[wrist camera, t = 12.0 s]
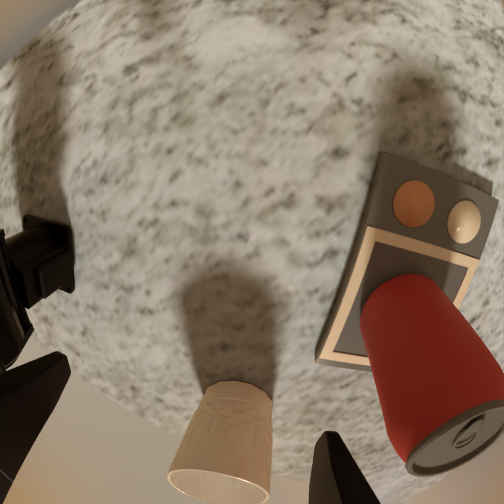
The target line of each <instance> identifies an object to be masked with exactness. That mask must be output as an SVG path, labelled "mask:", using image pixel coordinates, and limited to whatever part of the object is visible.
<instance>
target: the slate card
mask: <svg viewBox="0 0 504 504" xmlns="http://www.w3.org/2000/svg"><path fill="white" fill-rule="evenodd" d="M498 202H499V200H498V199H496V198H494V197H492V196H490V195H488V194H486V193H484V192H482V191H480V190H477V189H475V188H473V187H471V186H469V185H467V184H465V183H462V182H460V181H458V180H456V179H453V178H451V177H449V176H446V175H444V174H442V173H439V172H437V171H434V170H432V169H429V168H427V167H424V166H422V165H419V164H416V163H414V162H411V161H408V160H406V159H403V158H400V157H397V156H394V155H391V154H388V153H386V152H380V155H379V160H378V164H377V168H376V172H375V176H374V180H373V184H372V188H371V192H370V195H369V199H368V203H367V206H366V210H365V213H364V217H363V220H362V224H361V227H360V230H359V234H358V237H357V240H356V243H355V247H354V250H353V253H352V256H351V259H350V262H349V265H348V268H347V271H346V274H345V277H344V280H343V283H342V285H341V288H340V291H339V294H338V297H337V299H336V302H335V305H334V307H333V310H332V313H331V315H330V318H329V321H328V323H327V326H326V328H325V331H324V333H323V336H322V338H321V341H320V343H319V346H318V348H317V350H316V353H315V363H316V364H322V365H328V366H334V367H341V368H348V369H355V370H363V371H371V372H372V369H371V365H370V362H369V358H368V355H367V351H366V348H365V344H364V341H363V337H362V334H361V330H360V317H361V314H362V311H363V307H364V305H365V303H366V302H367V300H368V299H369V297H370V295H371V294H372V293H373V292H374V291H375V290H376V289H377V288H378V287H379V286H380V285H382V284H383V283H384V282H386V281H388V280H390V279H392V278H394V277H396V276H400V275H405V274H409V273H410V274H419V275H424V276H426V277H428V278H430V279H431V280H433V281H434V282H435V283H436V284H437V285H438V286H439V287H440V289H441V290H442V291H443V292H444V293H445V294H446V296H447V297H448V298H449V299H450V300H451V302H452V303H453V304H454V305H455V307H456V308H457V309H458V308H459V306H460V304H461V302H462V300H463V298H464V295H465V293H466V291H467V289H468V287H469V284H470V282H471V280H472V277H473V275H474V273H475V270H476V268H477V265H478V263H479V260H480V257H481V255H482V252H483V249H484V247H485V244H486V241H487V238H488V235H489V232H490V229H491V226H492V223H493V219H494V216H495V213H496V209H497V206H498Z"/></svg>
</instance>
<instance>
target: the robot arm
mask: <svg viewBox="0 0 504 504" xmlns="http://www.w3.org/2000/svg"><path fill="white" fill-rule="evenodd" d="M65 231H66V232H65ZM4 236H5V233H4V229H0V504H3V502H4V500H5V498H6V495H7V493H8V491H9V489H10V487H11V485H12V483H13V481H14V479H15V477H16V475H17V473H18V471H19V469H20V467H21V466H22V464H23V462H24V460H25V458H26V456H27V454H28V452H29V451H30V449H31V447H32V445H33V444H34V442H35V440H36V438H37V437H38V435H39V433H40V432H41V430H42V428H43V426H44V425H45V423H46V421H47V420H48V418H49V416H50V415H51V413H52V412H53V410H54V408H55V406H56V404H57V402H58V400H59V398H60V396H61V394H62V392H63V390H64V388H65V385H66V383H67V381H68V379H69V377H70V375H71V369H70V366H69V362H68V359H67V356H66V355H65V354H63V353H61V352H58V351H55V352H53V353H50V354H48V355H45V356H43V357H40V358H38V359H36V360H33V361H30V362H28V363H25V364H23V365H20V366H18V367H15V368H13V369H10V370H8V371H6V369H7V368H9V367H10V366H11V365H12V364H13V363H14V362H15V361H16V360H17V358H18V356H19V355H20V353H21V351H22V349H23V348H24V346H25V344H26V342H27V341H28V339H29V338H30V336H31V334H32V333H33V331H34V328H33V325H32V323H30V320H29V317H28V315H27V312H26V309H25V308H27V309H30V308H31V307H32V306H34V305H35V304H36V303H37V302H39V301H40V300H41V299H43V298H44V299H46V298H47V297H48V296H50V295H51V294H52V293H53V292H55V291H56V290H57V289H60V290H62V291H65V292H67V293H72V292H73V291H74V290H75V287H74V277H73V265H72V250H71V230H70V227H69V226H68V225H65V224H62V223H58V222H54V221H50V220H47V219H43V218H39V217H36V216H32V215H25V216H23V231H22V232H20V233H18V234H16V235H13V236H11V237H9V238H7V239H5V238H4ZM69 287H70V288H69ZM309 504H381V503H380V502H379V500H378V498H377V497H376V495H375V494H374V492H373V490H372V489H371V487H370V485H369V484H368V482H367V480H366V479H365V477H364V475H363V474H362V472H361V470H360V469H359V467H358V465H357V464H356V462H355V460H354V459H353V457H352V455H351V454H350V452H349V450H348V449H347V447H346V445H345V444H344V442H343V440H342V439H341V437H340V435H339V434H338V433H337V432H335V431H325V432H324V433H323V434H322V435H321V437H320V438H319V440H318V441H317V443H316V445H315V449H314V456H313V464H312V471H311V477H310V485H309Z"/></svg>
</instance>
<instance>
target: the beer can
mask: <svg viewBox="0 0 504 504" xmlns="http://www.w3.org/2000/svg"><path fill="white" fill-rule="evenodd" d="M360 330H361V334H362V337H363V341H364V344H365V348H366V351H367V355H368V358H369V362H370V365H371V369H372V373H373V376H374V380H375V384H376V388H377V392H378V396H379V400H380V404H381V408H382V412H383V416H384V421H385V425H386V430H387V434H388V437H389V439H390V441H391V443H392V445H393V447H394V449H395V451H396V452H397V454H398V455H399V456H400V458H401V459H402V460H403V461H404V462H405V463H406V465H405V467H406V469H407V471H408V473H409V474H412V475H414V476H418V477H427V476H433V475H438V474H442V473H445V472H447V471H450V470H453V469H455V468H457V467H459V466H461V465H463V464H465V463H467V462H469V461H471V460H472V459H474V458H475V457H477V456H478V455H480V454H481V453H482V452H484V451H485V450H486V449H487V448H489V447H490V446H491V445H492V444H493V443H494V442H495V441H496V440H497V439H498V438H499V437H500V436H501V435H502V434H503V432H504V373H503V371H502V369H501V367H500V365H499V364H498V362H497V361H496V360H495V358H494V357H493V355H492V354H491V352H490V351H489V350H488V348H487V347H486V345H485V344H484V343H483V341H482V340H481V339H480V337H479V336H478V335H477V333H476V332H475V331H474V329H473V328H472V327H471V325H470V324H469V323H468V322H467V320H466V319H465V318H464V316H463V315H462V314H461V313H460V311H459V310H458V309H457V308H456V307H455V305H454V304H453V303H452V302H451V300H450V299H449V298H448V297H447V296H446V294H445V293H444V292H443V291H442V290H441V289H440V287H439V286H438V285H437V284H436V283H435V282H434V281H433V280H431V279H430V278H428V277H426V276H424V275H419V274H410V273H409V274H405V275H400V276H396V277H394V278H392V279H390V280H388V281H386V282H384V283H383V284H382V285H380V286H379V287H378V288H377V289H376V290H375V291H374V292H373V293H372V294H371V295H370V297H369V299H368V300H367V302H366V303H365V305H364V307H363V311H362V314H361V317H360Z"/></svg>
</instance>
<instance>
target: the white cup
mask: <svg viewBox="0 0 504 504" xmlns="http://www.w3.org/2000/svg"><path fill="white" fill-rule="evenodd" d="M272 433H273V427H272V401H271V400H270V398H269V397H268V395H267V394H266V393H265V392H264V391H262V390H261V389H259V388H257V387H255V386H254V385H252V384H248V383H244V382H239V381H221V382H218V383H216V384H214V385H211V386H209V387H208V388H207V390H206V391H205V393H204V395H203V397H202V399H201V402H200V404H199V407H198V409H197V410H196V411H195V413H194V415H193V417H192V420H191V421H190V423H189V425H188V428H187V430H186V432H185V434H184V437H183V439H182V442H181V444H180V446H179V449H178V451H177V453H176V455H175V458H174V460H173V463H172V464H171V467H170V469H169V471H168V474H167V479H168V481H169V483H170V484H171V485H172V486H173V487H175V488H176V489H177V490H179V491H181V492H182V493H184V494H186V495H188V496H190V497H193V498H195V499H198V500H201V501H204V502H208V503H212V504H262V503H264V502H266V501H267V500H268V499H269V495H270V479H271V461H272V443H273V438H272Z"/></svg>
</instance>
